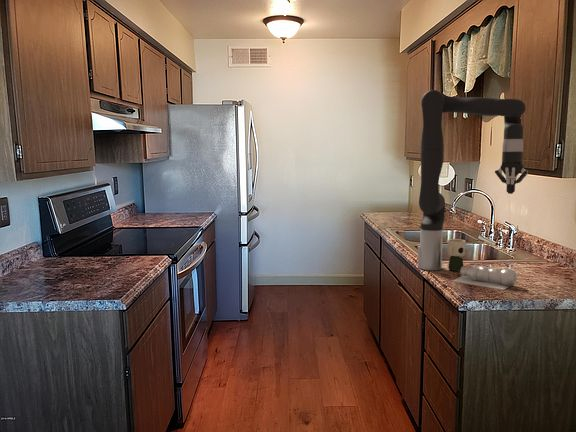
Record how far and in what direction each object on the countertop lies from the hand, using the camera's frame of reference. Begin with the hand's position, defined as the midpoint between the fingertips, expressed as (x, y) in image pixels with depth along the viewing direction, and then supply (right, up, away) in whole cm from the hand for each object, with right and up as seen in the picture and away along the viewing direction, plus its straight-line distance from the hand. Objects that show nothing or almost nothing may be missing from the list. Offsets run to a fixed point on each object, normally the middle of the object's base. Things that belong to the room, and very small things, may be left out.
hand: (510, 193), depth 194 cm
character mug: (-19, -33, +9) cm, 39 cm away
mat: (-16, -35, -10) cm, 40 cm away
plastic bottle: (-6, -32, -18) cm, 37 cm away
